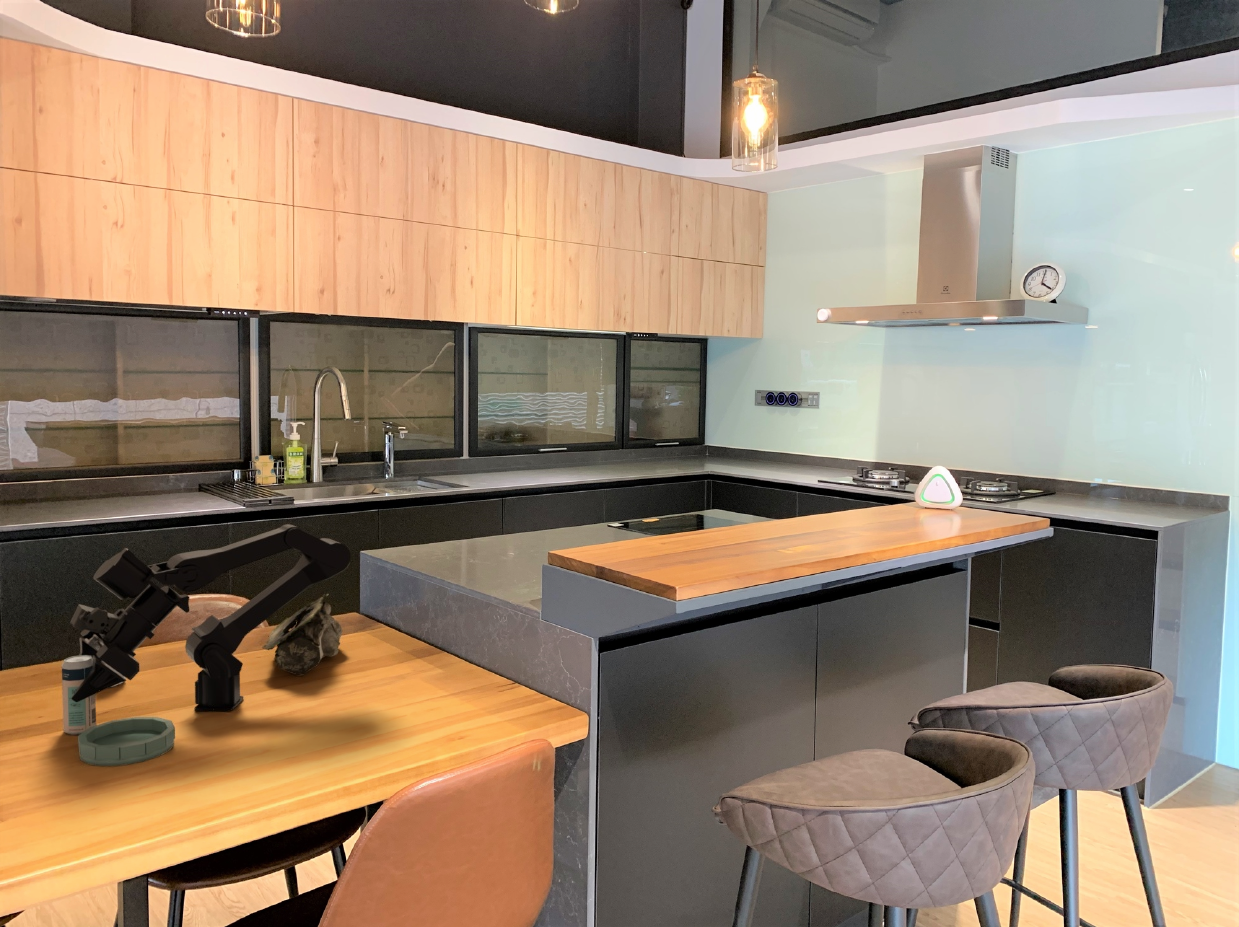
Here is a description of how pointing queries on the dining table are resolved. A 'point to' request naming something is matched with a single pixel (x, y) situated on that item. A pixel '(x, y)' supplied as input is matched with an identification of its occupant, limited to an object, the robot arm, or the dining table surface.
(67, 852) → the dining table surface
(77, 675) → the beer can
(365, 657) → the dining table surface
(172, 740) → the bowl
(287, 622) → the driftwood piece
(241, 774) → the dining table surface
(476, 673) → the dining table surface
